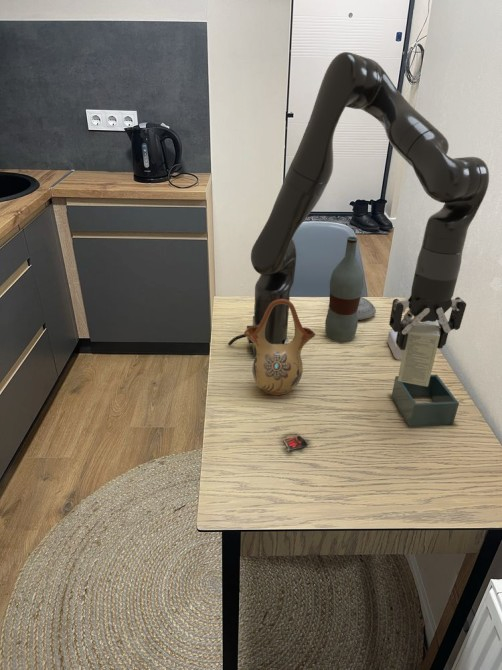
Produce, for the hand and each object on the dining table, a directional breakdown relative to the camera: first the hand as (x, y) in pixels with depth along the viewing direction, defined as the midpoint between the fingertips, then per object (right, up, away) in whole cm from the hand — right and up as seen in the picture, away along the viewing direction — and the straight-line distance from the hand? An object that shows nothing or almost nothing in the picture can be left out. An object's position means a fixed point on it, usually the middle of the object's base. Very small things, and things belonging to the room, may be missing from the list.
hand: (419, 347), depth 100 cm
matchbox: (-25, -21, +6) cm, 33 cm away
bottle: (-8, +2, +47) cm, 48 cm away
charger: (+10, -1, +43) cm, 44 cm away
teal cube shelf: (+6, -15, +17) cm, 24 cm away
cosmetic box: (0, -7, +4) cm, 8 cm away
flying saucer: (-1, +10, +61) cm, 62 cm away
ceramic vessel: (-28, -11, +22) cm, 37 cm away
